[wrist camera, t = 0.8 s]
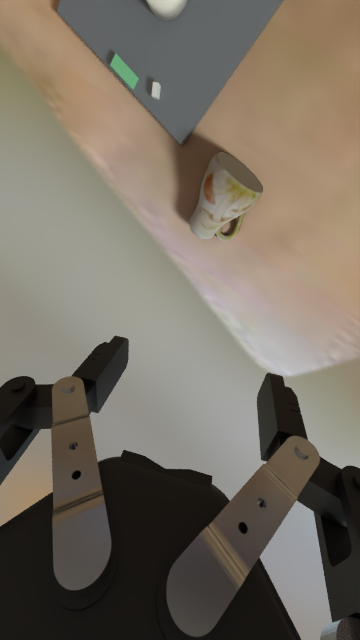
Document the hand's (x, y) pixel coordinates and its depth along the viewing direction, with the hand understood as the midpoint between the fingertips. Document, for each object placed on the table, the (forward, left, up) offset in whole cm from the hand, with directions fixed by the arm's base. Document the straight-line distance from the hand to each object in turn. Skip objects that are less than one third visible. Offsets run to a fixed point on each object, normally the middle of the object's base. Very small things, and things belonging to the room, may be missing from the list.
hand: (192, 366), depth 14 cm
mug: (-5, -5, -27) cm, 28 cm away
